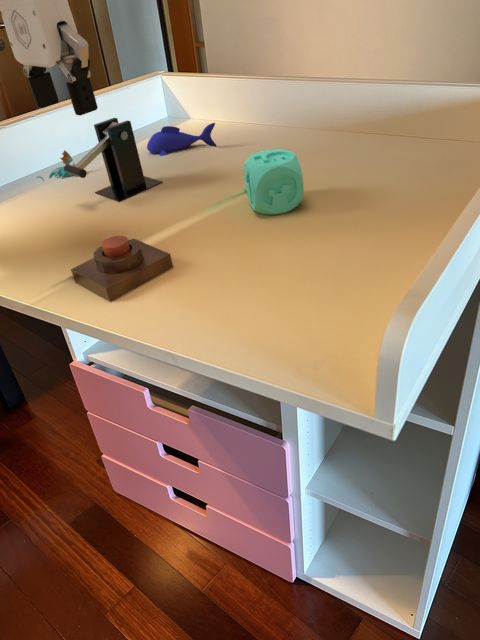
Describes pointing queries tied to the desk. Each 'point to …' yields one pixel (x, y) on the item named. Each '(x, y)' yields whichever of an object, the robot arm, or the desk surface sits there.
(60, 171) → the dragon figurine
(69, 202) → the desk surface
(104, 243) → the button
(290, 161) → the decorative dice
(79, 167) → the switch lever
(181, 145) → the fish toy
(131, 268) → the button block
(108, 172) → the switch bracket
